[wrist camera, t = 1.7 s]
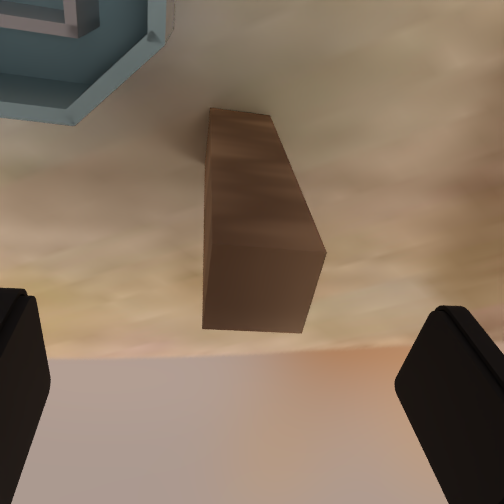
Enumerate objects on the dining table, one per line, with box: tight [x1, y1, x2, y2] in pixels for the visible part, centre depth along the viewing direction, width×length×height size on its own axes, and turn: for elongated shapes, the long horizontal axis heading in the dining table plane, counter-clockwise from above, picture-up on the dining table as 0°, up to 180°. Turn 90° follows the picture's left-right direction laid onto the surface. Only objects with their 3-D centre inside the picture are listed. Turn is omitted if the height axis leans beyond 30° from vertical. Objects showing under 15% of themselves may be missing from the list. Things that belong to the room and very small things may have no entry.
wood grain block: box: [202, 108, 327, 333], centre depth 16 cm, size 3×3×12 cm
